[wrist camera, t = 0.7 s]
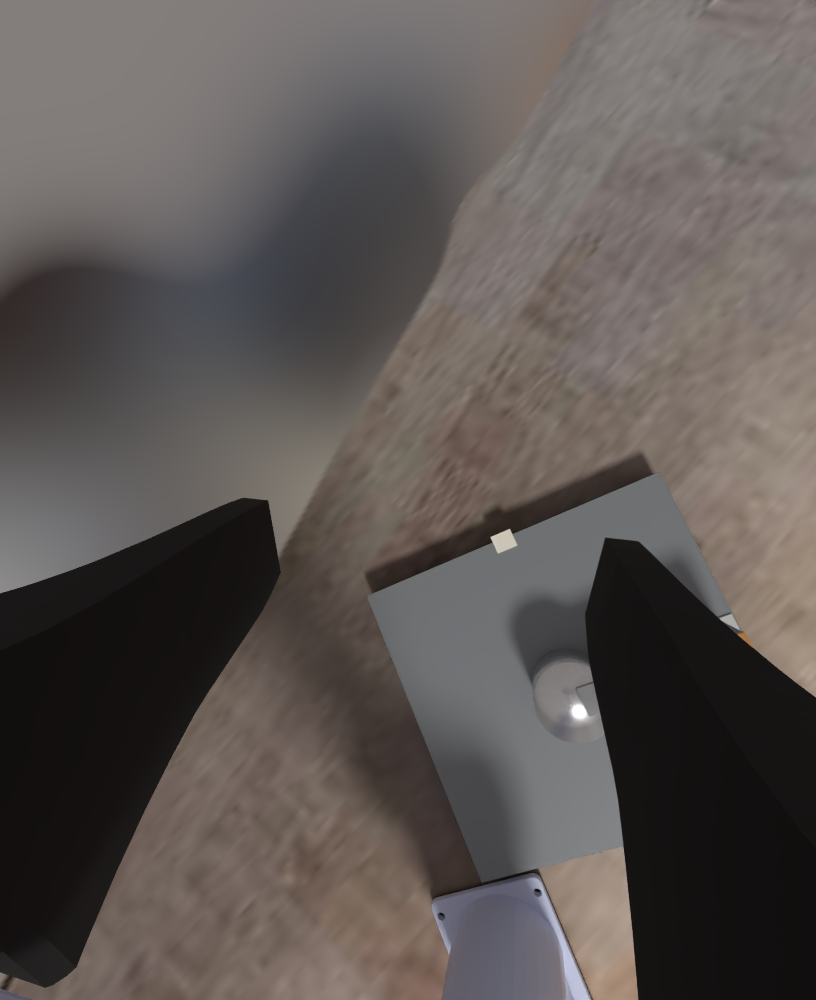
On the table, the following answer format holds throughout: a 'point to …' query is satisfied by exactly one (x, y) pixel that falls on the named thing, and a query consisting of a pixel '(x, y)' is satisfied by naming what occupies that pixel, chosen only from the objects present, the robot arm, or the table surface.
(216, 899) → the table surface
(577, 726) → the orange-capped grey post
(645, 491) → the board
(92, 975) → the table surface
